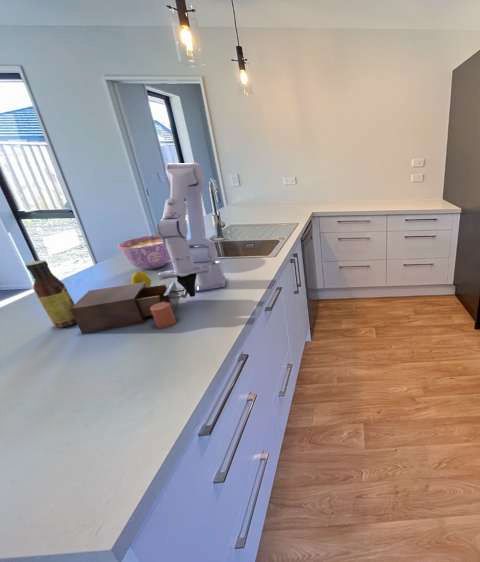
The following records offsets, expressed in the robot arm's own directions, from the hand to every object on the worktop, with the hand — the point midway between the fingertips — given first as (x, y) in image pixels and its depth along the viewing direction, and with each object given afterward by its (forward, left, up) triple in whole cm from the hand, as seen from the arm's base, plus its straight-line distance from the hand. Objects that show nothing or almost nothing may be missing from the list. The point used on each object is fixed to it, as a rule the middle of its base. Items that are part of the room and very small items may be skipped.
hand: (192, 295), depth 100 cm
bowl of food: (+22, -50, -4) cm, 55 cm away
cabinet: (+21, 0, -3) cm, 21 cm away
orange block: (+7, +10, -3) cm, 12 cm away
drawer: (+10, 0, -2) cm, 10 cm away
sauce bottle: (+35, -3, -4) cm, 35 cm away
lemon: (+19, -20, -4) cm, 28 cm away
